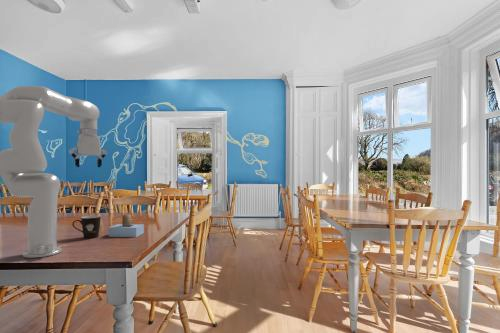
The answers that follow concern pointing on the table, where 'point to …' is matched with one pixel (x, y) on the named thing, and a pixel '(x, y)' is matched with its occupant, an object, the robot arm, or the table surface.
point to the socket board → (126, 230)
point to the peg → (126, 220)
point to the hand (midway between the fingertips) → (88, 167)
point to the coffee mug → (89, 226)
